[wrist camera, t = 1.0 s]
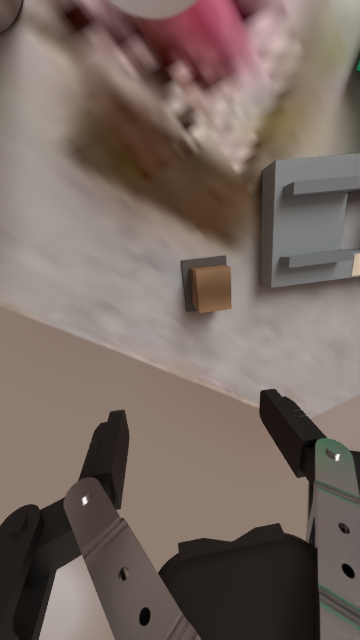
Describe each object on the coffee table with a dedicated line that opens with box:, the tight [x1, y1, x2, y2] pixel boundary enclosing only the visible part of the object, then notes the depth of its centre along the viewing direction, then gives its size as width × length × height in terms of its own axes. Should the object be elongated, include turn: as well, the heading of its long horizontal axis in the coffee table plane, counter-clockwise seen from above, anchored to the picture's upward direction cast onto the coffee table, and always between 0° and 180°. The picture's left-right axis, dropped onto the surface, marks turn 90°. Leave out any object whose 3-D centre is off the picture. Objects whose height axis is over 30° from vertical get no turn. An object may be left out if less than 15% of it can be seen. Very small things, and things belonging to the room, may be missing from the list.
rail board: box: [260, 153, 360, 288], centre depth 26 cm, size 14×18×6 cm
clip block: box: [190, 264, 231, 313], centre depth 27 cm, size 5×4×4 cm
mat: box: [181, 256, 226, 312], centre depth 29 cm, size 7×6×1 cm
